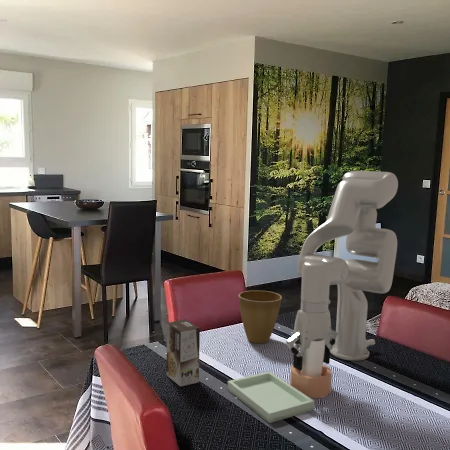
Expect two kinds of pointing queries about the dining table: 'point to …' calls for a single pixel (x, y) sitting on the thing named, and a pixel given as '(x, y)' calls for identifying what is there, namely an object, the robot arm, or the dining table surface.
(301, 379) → the holder cup
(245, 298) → the plant pot
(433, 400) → the dining table surface
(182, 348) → the coffee box
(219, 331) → the dining table surface
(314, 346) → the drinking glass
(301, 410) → the tray
